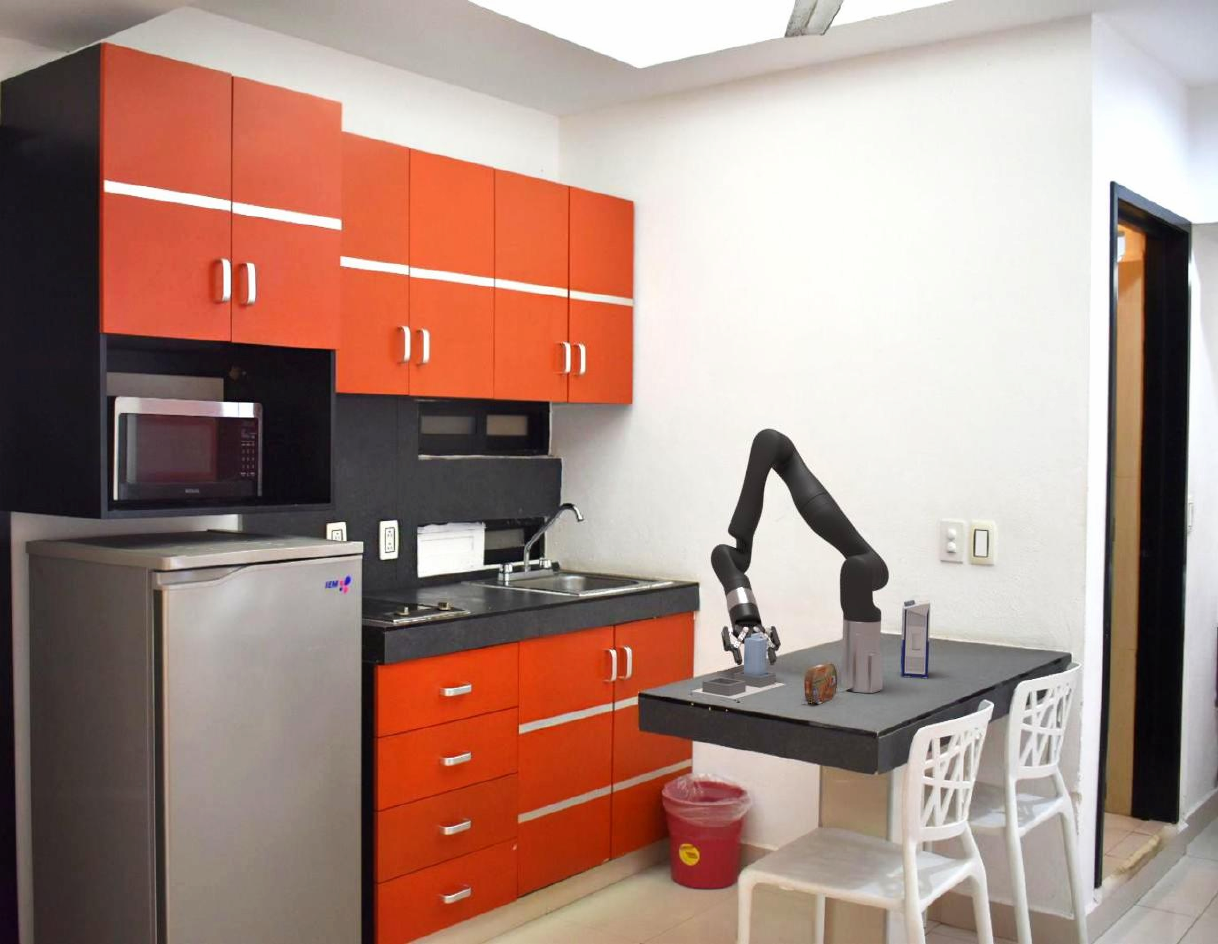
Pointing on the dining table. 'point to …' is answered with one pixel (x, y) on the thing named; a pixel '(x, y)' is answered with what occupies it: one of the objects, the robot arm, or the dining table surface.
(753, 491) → the robot arm
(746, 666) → the plug
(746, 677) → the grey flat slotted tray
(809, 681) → the tin
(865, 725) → the dining table surface
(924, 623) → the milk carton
